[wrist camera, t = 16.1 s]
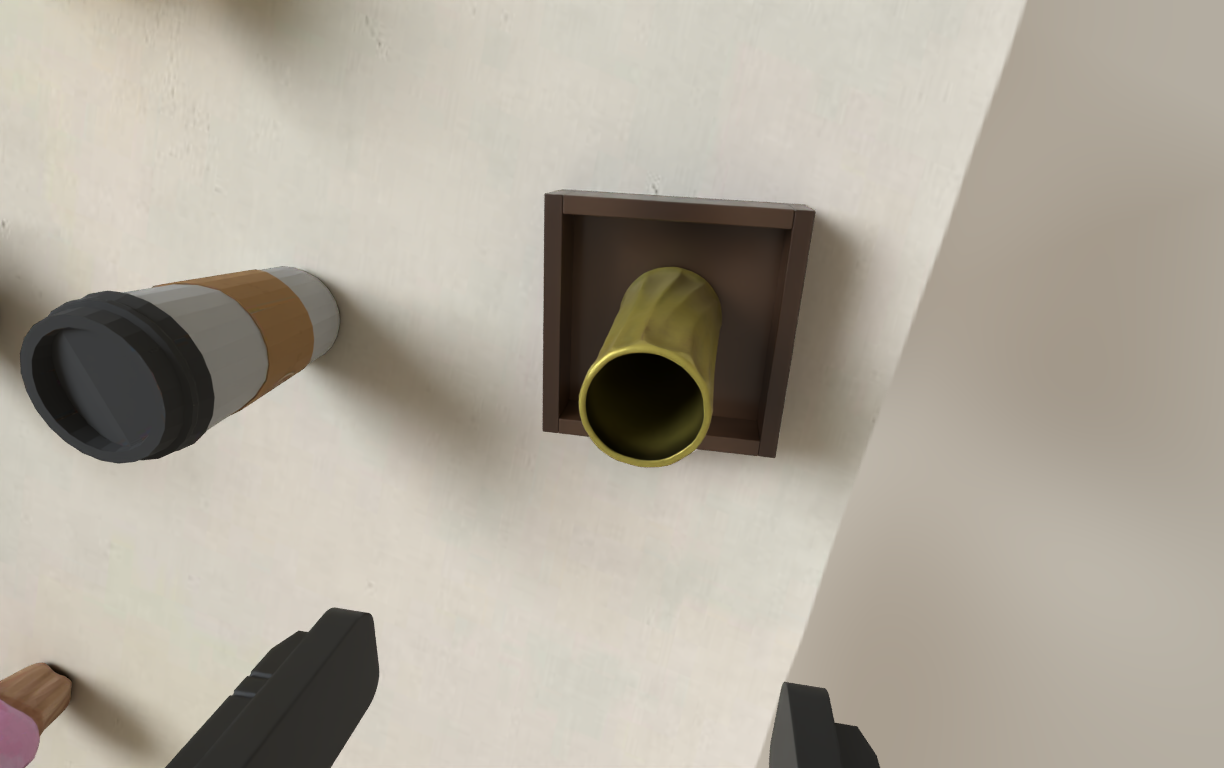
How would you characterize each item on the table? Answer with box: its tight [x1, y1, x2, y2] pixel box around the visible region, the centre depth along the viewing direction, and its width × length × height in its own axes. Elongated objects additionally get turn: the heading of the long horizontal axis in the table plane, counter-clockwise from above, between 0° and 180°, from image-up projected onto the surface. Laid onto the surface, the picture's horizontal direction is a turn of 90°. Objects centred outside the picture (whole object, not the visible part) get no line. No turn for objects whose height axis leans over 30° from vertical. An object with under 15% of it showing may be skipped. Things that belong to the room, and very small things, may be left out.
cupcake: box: [0, 663, 72, 768], centre depth 56 cm, size 9×9×10 cm
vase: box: [579, 267, 722, 467], centre depth 30 cm, size 6×6×14 cm
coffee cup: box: [20, 266, 340, 463], centre depth 35 cm, size 8×8×15 cm
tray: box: [543, 190, 815, 458], centre depth 36 cm, size 14×14×4 cm
